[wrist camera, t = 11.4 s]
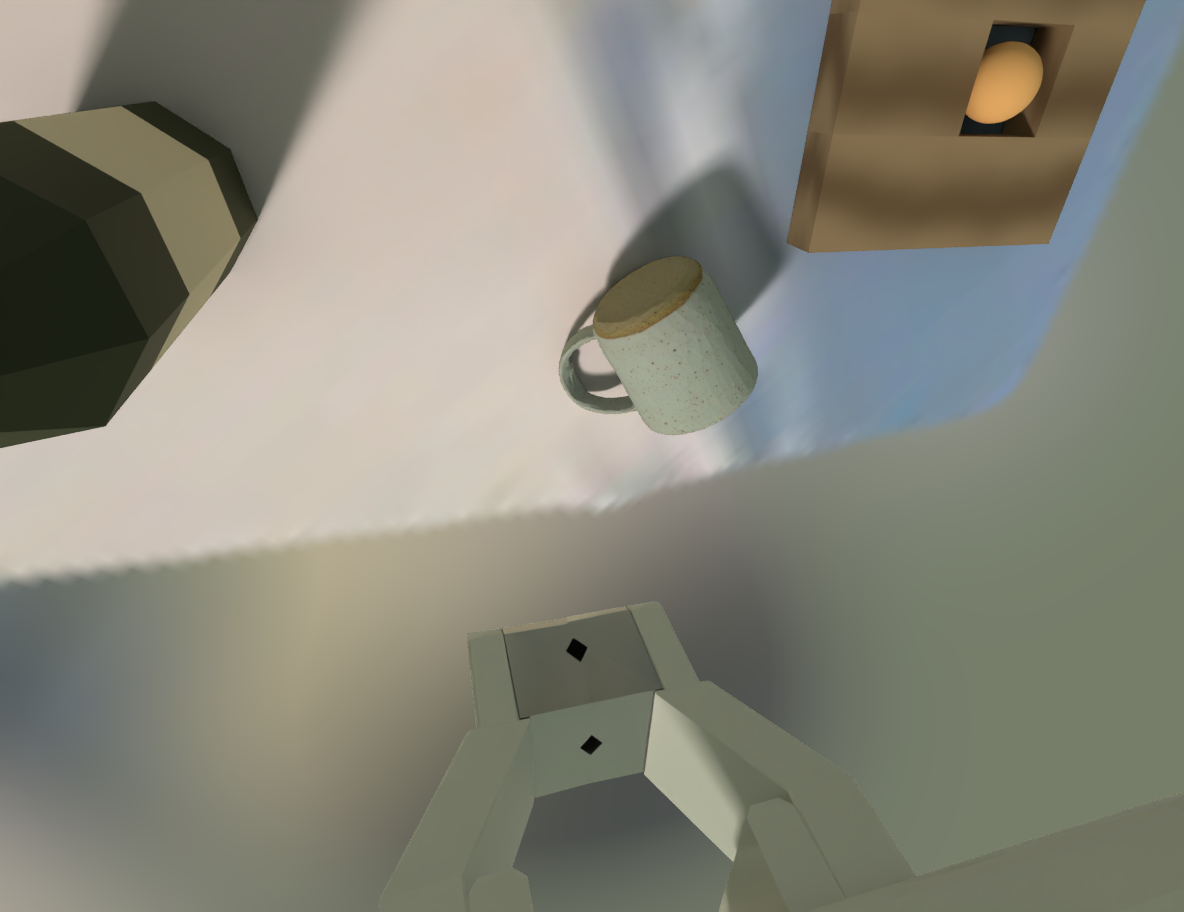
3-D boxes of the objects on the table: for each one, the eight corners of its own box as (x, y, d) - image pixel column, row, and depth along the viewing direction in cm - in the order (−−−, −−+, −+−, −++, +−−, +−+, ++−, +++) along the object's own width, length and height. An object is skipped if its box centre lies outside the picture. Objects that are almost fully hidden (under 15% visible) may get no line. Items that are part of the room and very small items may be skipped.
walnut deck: (859, -147, 30) (894, -162, 28) (1144, -108, 34) (1193, -119, 32) (786, 243, 39) (808, 252, 37) (1017, 235, 43) (1048, 243, 41)
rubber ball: (1035, 44, 36) (961, 42, 36) (1070, 39, 32) (988, 37, 33) (1008, 123, 38) (939, 120, 38) (1039, 126, 34) (962, 123, 35)
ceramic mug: (672, 232, 37) (726, 268, 31) (726, 337, 42) (783, 386, 35) (526, 336, 38) (550, 391, 32) (595, 426, 43) (627, 490, 36)
